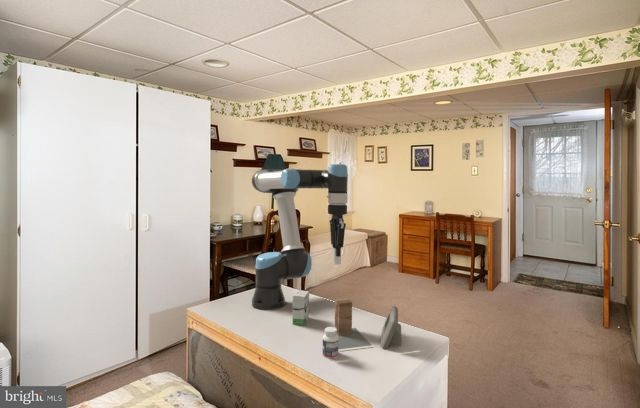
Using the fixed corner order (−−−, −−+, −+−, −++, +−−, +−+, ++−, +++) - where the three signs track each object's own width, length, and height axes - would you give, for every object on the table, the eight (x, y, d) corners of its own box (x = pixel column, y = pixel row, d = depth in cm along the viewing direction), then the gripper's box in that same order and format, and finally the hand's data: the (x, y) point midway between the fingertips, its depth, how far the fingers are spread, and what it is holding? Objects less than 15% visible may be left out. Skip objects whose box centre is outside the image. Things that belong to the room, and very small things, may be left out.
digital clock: (383, 330, 138) (384, 303, 137) (407, 334, 134) (407, 306, 134) (371, 348, 123) (372, 317, 122) (398, 353, 119) (398, 322, 119)
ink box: (304, 326, 141) (304, 296, 140) (292, 325, 142) (292, 295, 141) (309, 318, 149) (309, 290, 149) (297, 317, 150) (297, 289, 150)
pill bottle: (323, 351, 120) (323, 325, 120) (338, 352, 120) (339, 326, 119) (321, 359, 115) (322, 332, 115) (338, 360, 115) (338, 332, 114)
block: (334, 329, 137) (335, 299, 136) (347, 328, 138) (347, 298, 137) (338, 335, 132) (339, 303, 131) (351, 334, 133) (352, 302, 132)
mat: (325, 332, 136) (325, 330, 136) (355, 328, 139) (355, 327, 139) (340, 352, 119) (340, 351, 119) (373, 348, 123) (373, 347, 123)
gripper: (323, 203, 146) (322, 260, 147) (333, 205, 133) (332, 268, 134) (341, 203, 148) (340, 259, 149) (352, 205, 135) (351, 267, 136)
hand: (336, 263), depth 142 cm, fingers closed
